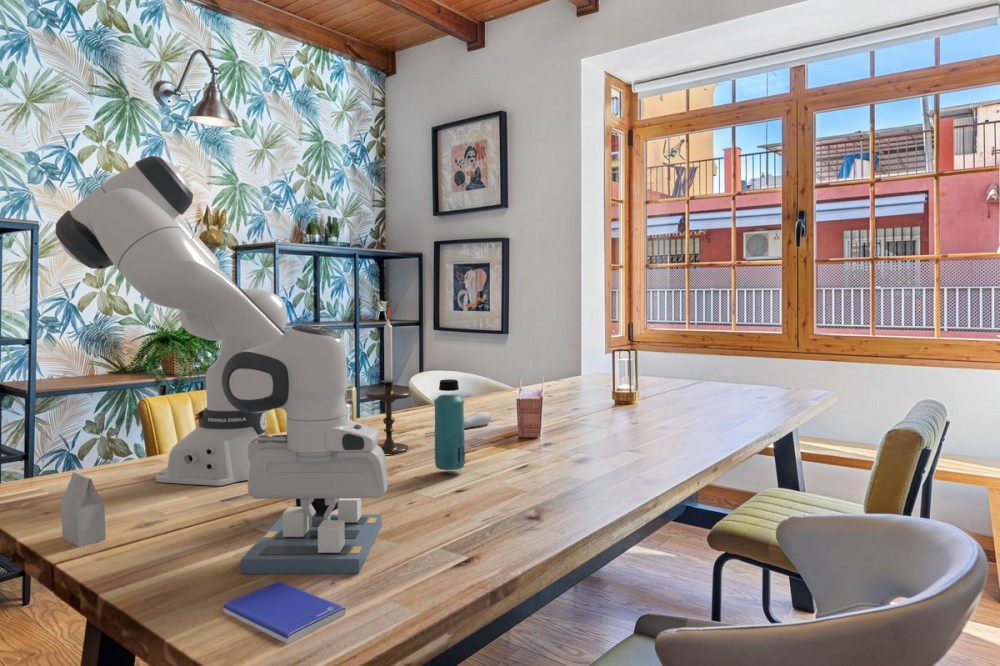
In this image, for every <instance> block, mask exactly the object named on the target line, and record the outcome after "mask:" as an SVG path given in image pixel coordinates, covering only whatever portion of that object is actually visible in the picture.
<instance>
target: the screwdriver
mask: <svg viewBox="0 0 1000 666" xmlns="http://www.w3.org/2000/svg"><path fill="white" fill-rule="evenodd" d="M491 421H492V415H491V412H488V411H476V412H475V413H472V414H471V415H469V416H466V417H464V424H465V426H464V430H465V429H468V428H477V427H478V426H480V427H483V426H486V425H488V424H489V422H491ZM430 434H435V430H430V431H428V432H427V431H426V432H425V433H424V435H426V436H427V435H430Z"/></svg>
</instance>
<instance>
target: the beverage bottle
mask: <svg viewBox="0 0 1000 666" xmlns="http://www.w3.org/2000/svg"><path fill="white" fill-rule="evenodd" d="M459 388H460V387H459V380H458V379H452V378H451V379H441V380H439V386H438V390H439V391H443V392H451V391H453V392H454V391H459ZM464 403H465V400H464V399H463V398H462V397H461V396H460V395H458V394H441V395H439V396H438V397H437V398H436V399H435V400H434V402H433V404H434V430H435V433H434V441H433V442H434V445H433V446H434V452H433V453H434V464H435V465H434V466H435V467H436V469H439V470H442V471H443V470H445V471H455V470H456V471H457V470H460V469H463V468H464V467H465V464H466V460H465V458H466V452H465V437H466V436H465V435H466V434H465V433H466V432H465V429H464V426H465V424H464V418H465V415H464V413H465V411H464V408H465V406H464V405H465V404H464ZM434 430H433V431H434Z"/></svg>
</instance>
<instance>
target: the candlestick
mask: <svg viewBox="0 0 1000 666" xmlns="http://www.w3.org/2000/svg"><path fill="white" fill-rule="evenodd" d="M390 309H391V307H390V306H388V308H387V309H386V311H387V313H386V323H385V325H383V342H384V343H383V347H384V348H383V349H384V350H383V352H384V353H383V354H384V358H383V359H384V364H383V365H384V369H383V370H384V380H380V383H384V384H383V387H384V388H376V389H371V390H367V391H365V398H366V399H370V400H380V401H382V402H383V403H385V417H384V418H383V420H382V422H383V424H385V428H384V429H383V432H385V436H386V437H385V440H384V442H383V443H377V445H378V446H380V447H381V448H382V450H383V452H384V454H398V453H403V452H405V453H407V452H408V451H409V446H408V445H407V444H406V443H405V444H404V443H400V442H394V440H393V432H395V429H394V428H393V425H394V423H395V421H396V420H395V417H392V414H393V413H392V410H393V409H392V408H393V407H392V405H393V404H392V403H394V402H395V401H396V400H400V399H401V400H402V399H407V398H411V397H412V390H410V389H406V388H394V383H395V382H397V379H396V380H394V379H393V325H391V323H390V316H391V310H390ZM407 450H408V451H407ZM406 451H407V452H406ZM403 454H404V453H403ZM398 455H399V454H398Z"/></svg>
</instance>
